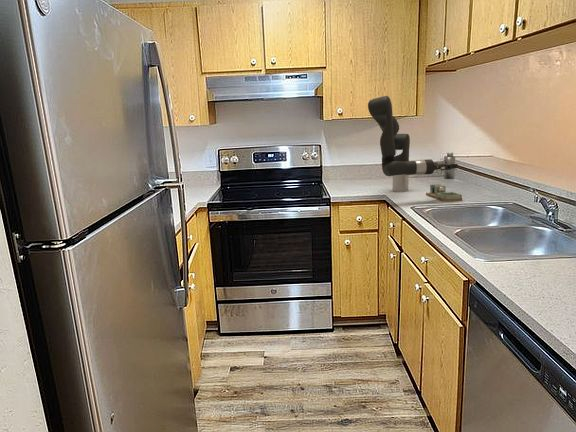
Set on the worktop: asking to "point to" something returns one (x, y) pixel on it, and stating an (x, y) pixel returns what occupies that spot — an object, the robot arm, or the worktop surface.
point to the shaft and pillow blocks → (437, 188)
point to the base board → (441, 198)
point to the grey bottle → (450, 173)
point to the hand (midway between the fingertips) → (454, 165)
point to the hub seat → (449, 195)
